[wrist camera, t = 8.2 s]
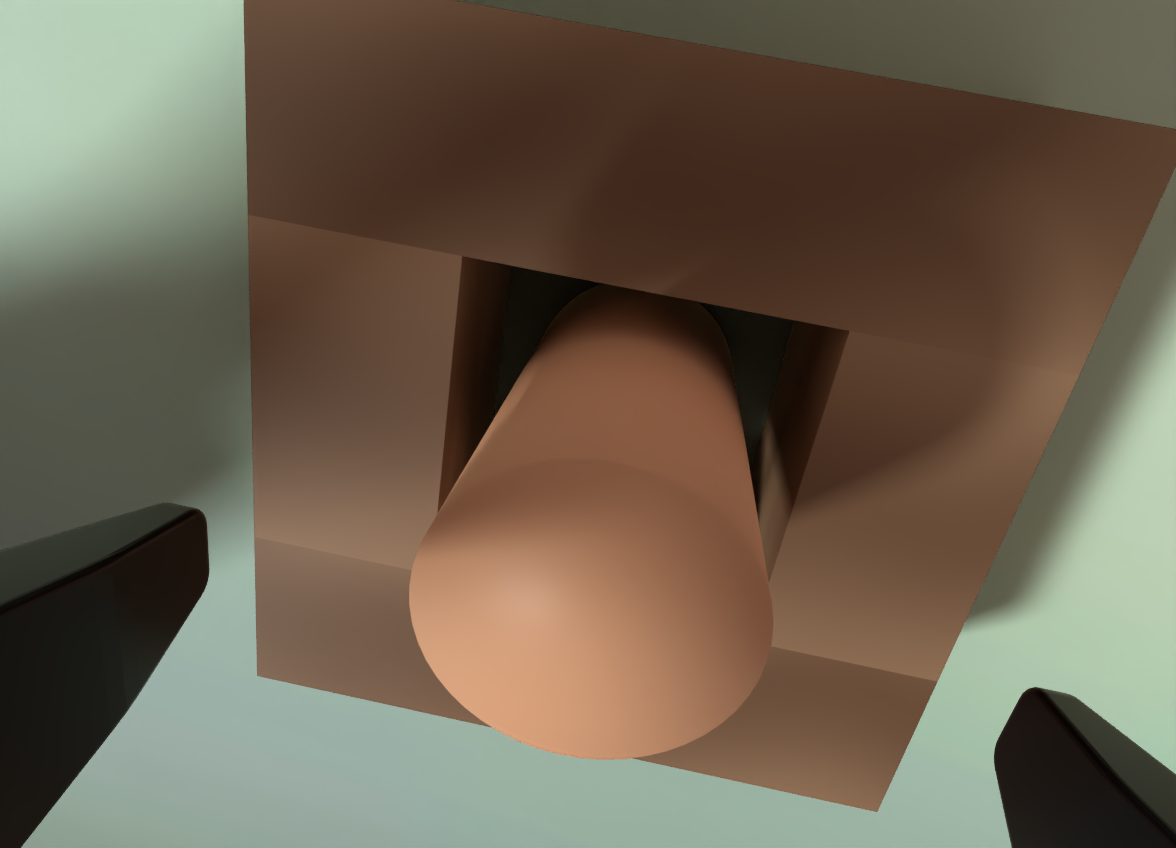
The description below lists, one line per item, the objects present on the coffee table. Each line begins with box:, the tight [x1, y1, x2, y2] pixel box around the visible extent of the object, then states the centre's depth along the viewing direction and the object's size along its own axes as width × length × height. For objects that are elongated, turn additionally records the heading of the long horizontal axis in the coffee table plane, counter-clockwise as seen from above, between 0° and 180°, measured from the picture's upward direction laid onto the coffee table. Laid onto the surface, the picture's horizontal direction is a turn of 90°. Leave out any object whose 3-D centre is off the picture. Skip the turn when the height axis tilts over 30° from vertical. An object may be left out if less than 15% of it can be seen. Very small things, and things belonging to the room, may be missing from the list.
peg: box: [409, 284, 773, 760], centre depth 12 cm, size 4×4×8 cm
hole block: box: [244, 0, 1176, 812], centre depth 14 cm, size 12×12×4 cm
